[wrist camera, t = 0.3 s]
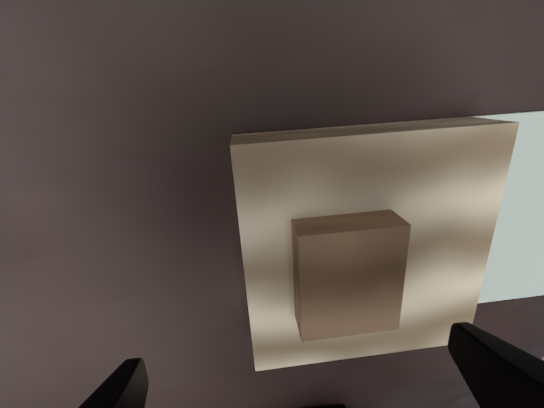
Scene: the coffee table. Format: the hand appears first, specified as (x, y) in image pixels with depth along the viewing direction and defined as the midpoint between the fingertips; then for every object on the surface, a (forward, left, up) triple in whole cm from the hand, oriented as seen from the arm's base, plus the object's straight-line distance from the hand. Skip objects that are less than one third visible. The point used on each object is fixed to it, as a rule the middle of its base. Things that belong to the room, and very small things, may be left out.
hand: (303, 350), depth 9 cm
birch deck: (-4, -6, -13) cm, 15 cm away
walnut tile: (-3, -4, -9) cm, 11 cm away
